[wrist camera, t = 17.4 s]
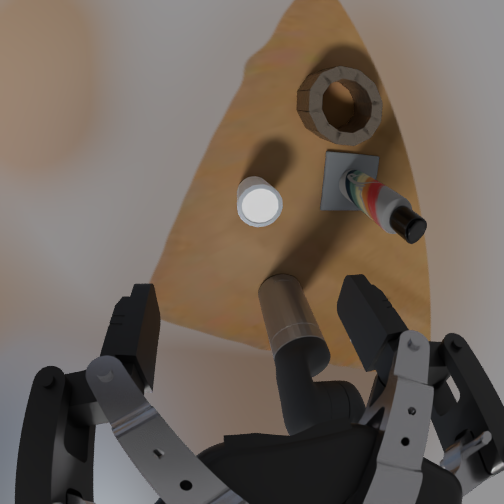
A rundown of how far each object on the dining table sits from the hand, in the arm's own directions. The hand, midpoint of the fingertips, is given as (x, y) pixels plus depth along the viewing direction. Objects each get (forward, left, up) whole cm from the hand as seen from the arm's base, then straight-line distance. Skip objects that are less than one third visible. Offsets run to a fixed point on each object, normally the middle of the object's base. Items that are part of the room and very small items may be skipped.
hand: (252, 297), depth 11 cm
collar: (+8, -18, -36) cm, 41 cm away
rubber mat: (-6, -23, -36) cm, 43 cm away
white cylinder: (-8, -5, -36) cm, 37 cm away
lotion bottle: (-6, -24, -36) cm, 43 cm away
